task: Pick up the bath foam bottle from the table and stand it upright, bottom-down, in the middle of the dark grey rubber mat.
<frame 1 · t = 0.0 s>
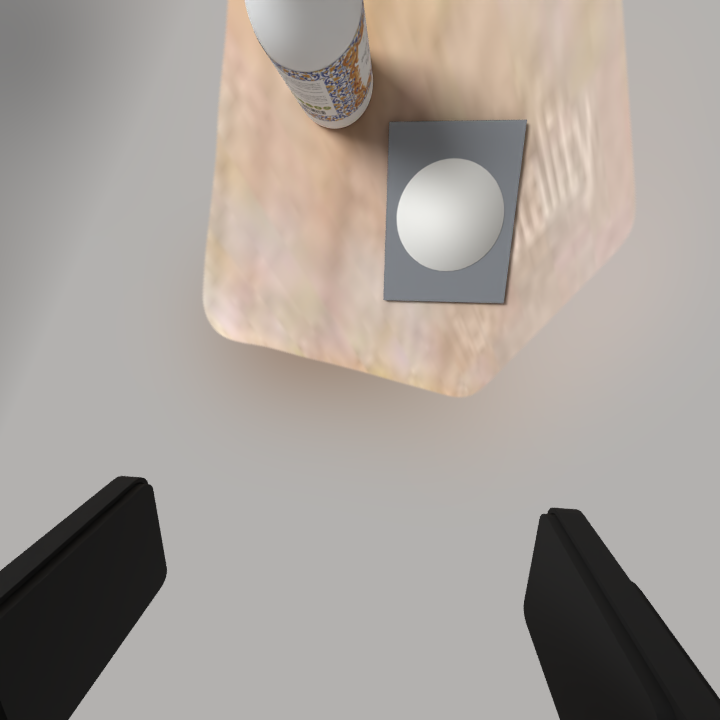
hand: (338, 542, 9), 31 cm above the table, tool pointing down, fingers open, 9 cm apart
bath foam: (335, 88, 33), on the table
rubber mat: (448, 217, 35), on the table
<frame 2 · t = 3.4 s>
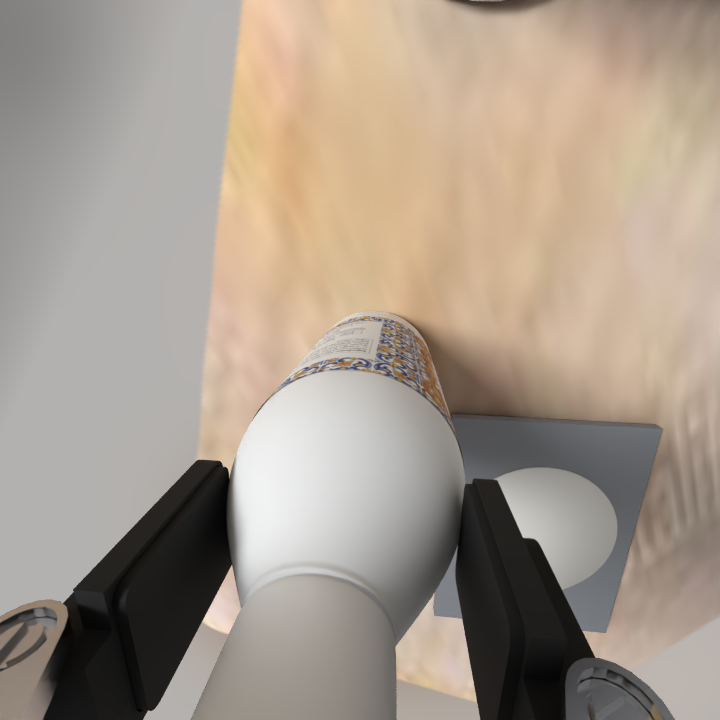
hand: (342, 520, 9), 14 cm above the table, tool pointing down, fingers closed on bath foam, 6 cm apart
bath foam: (373, 364, 23), on the table, touching gripper
rubber mat: (531, 526, 25), on the table
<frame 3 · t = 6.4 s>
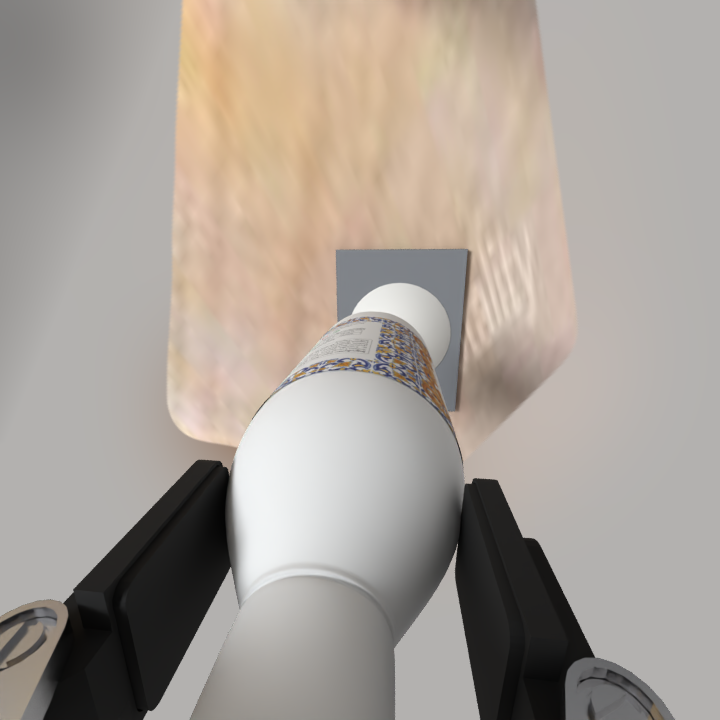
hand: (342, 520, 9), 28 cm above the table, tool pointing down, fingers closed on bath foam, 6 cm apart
bath foam: (373, 364, 23), point 14 cm above the table, touching gripper
rubber mat: (398, 333, 36), on the table
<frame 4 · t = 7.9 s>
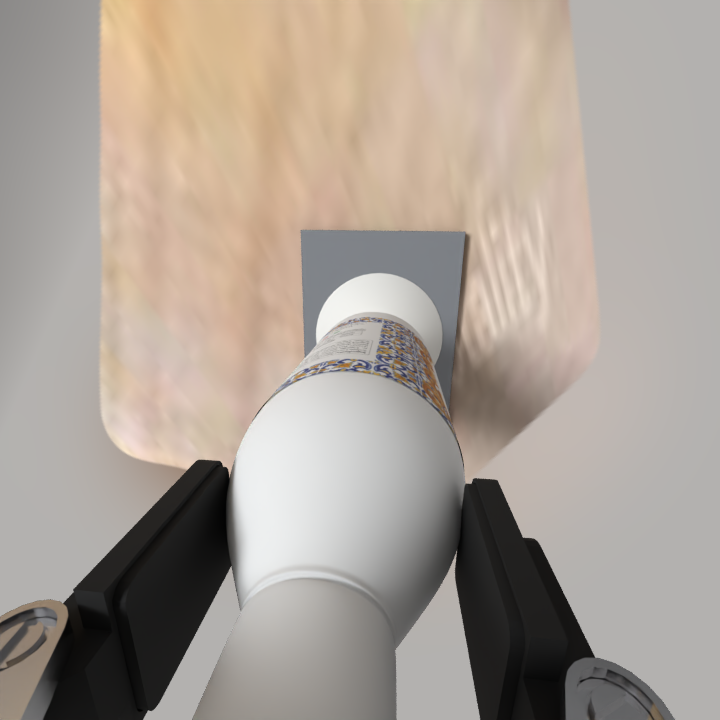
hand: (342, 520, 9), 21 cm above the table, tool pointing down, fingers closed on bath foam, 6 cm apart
bath foam: (373, 364, 23), point 7 cm above the table, touching gripper
rubber mat: (378, 336, 29), on the table
when the fingers open (15 cm above the table, at t = 9.4 s): bath foam drops 1 cm, resting on rubber mat.
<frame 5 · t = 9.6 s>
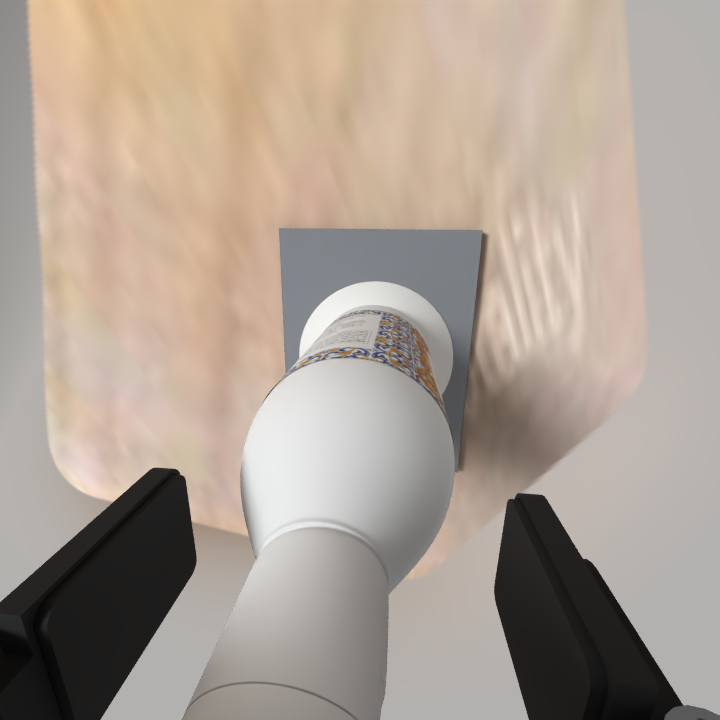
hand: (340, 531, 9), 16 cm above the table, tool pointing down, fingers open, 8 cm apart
bath foam: (374, 355, 24), point 1 cm above the table, touching rubber mat
rubber mat: (375, 356, 24), on the table
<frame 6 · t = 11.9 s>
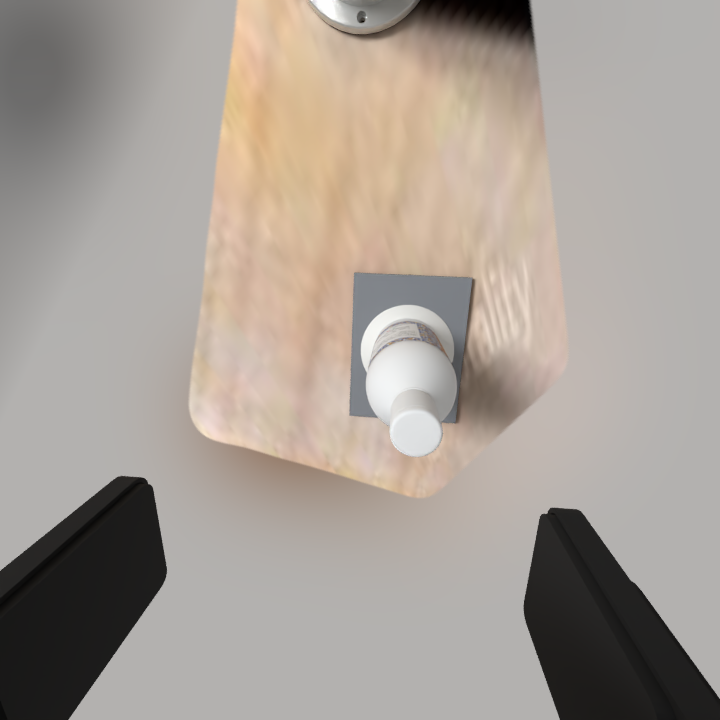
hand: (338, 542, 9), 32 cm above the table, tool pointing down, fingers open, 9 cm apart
bath foam: (406, 348, 39), point 1 cm above the table, touching rubber mat
rubber mat: (406, 349, 40), on the table
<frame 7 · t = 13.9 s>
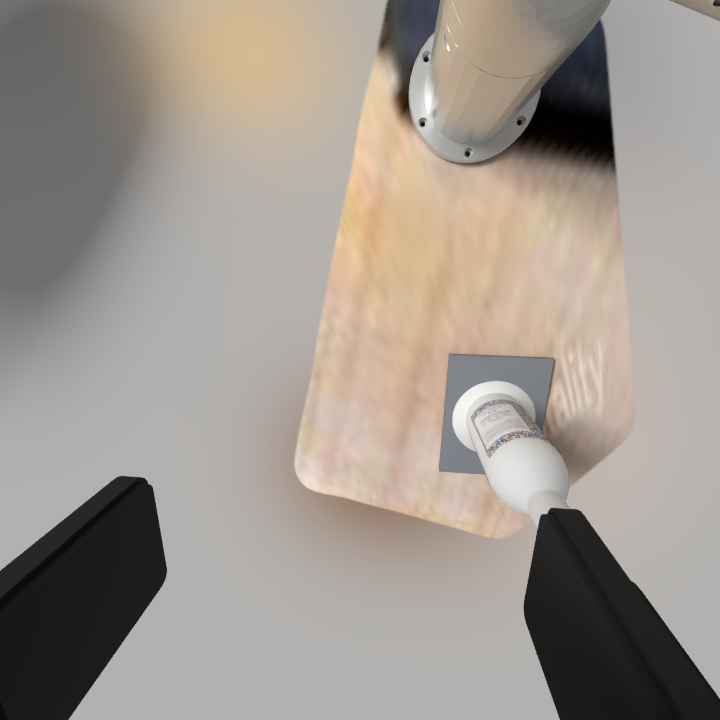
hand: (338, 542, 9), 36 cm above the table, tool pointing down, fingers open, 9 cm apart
bath foam: (492, 416, 45), point 1 cm above the table, touching rubber mat
rubber mat: (492, 416, 46), on the table
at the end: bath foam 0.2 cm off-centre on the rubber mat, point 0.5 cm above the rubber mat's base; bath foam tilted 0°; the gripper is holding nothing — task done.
